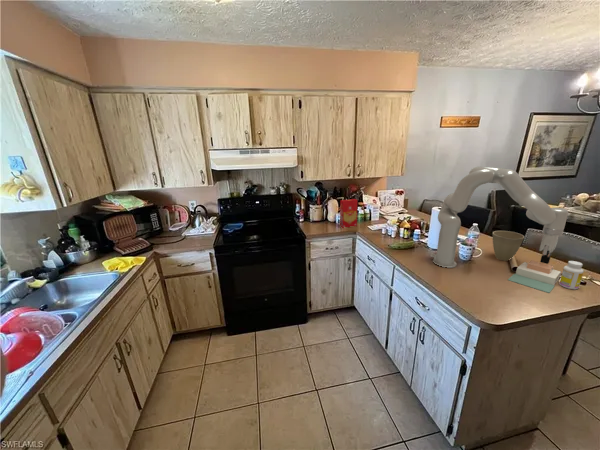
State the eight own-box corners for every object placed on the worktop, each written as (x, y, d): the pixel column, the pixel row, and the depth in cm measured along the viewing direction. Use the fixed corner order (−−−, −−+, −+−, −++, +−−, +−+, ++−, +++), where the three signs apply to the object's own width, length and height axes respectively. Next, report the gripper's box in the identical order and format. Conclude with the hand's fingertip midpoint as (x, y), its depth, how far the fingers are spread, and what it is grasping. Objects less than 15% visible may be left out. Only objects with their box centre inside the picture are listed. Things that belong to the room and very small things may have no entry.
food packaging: (342, 228, 227) (343, 201, 219) (340, 226, 232) (340, 200, 224) (356, 226, 231) (357, 199, 224) (353, 224, 236) (354, 198, 229)
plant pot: (487, 252, 165) (492, 229, 160) (516, 256, 157) (522, 232, 152) (488, 260, 153) (493, 236, 149) (520, 265, 145) (526, 240, 140)
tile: (526, 267, 134) (527, 263, 134) (530, 264, 138) (531, 260, 137) (549, 274, 127) (550, 269, 126) (552, 270, 130) (553, 266, 130)
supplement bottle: (575, 284, 124) (582, 261, 120) (580, 291, 119) (588, 267, 115) (556, 281, 127) (563, 258, 124) (561, 287, 122) (568, 264, 118)
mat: (507, 280, 131) (507, 279, 131) (514, 274, 136) (514, 273, 136) (549, 293, 118) (549, 292, 118) (554, 286, 123) (554, 285, 123)
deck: (515, 274, 136) (517, 267, 135) (522, 268, 142) (524, 262, 141) (553, 285, 124) (555, 278, 123) (559, 278, 130) (561, 271, 129)
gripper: (547, 226, 138) (539, 256, 143) (539, 232, 130) (531, 264, 135) (566, 229, 132) (557, 261, 137) (559, 236, 124) (550, 269, 129)
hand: (544, 262), depth 136 cm, fingers closed
